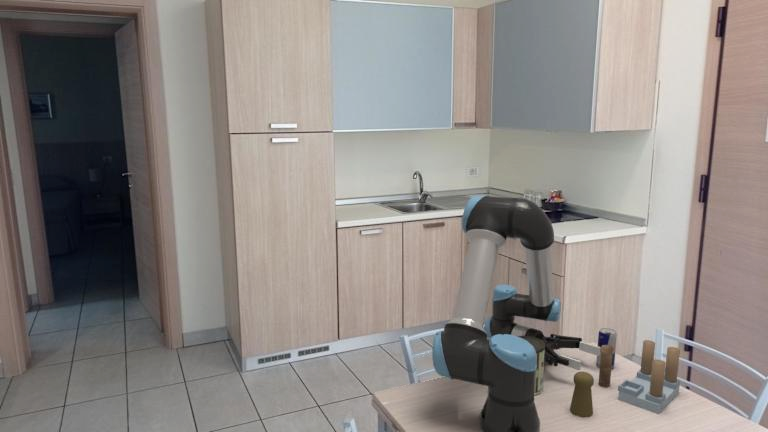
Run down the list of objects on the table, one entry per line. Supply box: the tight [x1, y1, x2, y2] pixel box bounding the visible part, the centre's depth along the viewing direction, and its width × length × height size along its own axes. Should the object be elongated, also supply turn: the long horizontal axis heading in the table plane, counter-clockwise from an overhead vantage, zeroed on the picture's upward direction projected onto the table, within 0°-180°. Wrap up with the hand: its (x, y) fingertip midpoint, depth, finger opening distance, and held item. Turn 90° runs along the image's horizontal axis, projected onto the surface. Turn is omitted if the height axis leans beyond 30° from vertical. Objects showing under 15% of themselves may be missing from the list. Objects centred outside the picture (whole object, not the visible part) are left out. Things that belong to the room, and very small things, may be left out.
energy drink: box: [595, 327, 618, 370], centre depth 179 cm, size 5×5×12 cm
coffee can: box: [517, 336, 545, 396], centre depth 166 cm, size 10×10×14 cm
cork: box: [569, 371, 595, 418], centre depth 153 cm, size 6×6×11 cm
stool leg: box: [597, 345, 613, 388], centre depth 167 cm, size 3×3×12 cm
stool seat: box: [617, 339, 681, 415], centre depth 161 cm, size 11×16×14 cm
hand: (590, 358), depth 171 cm, fingers open, 13 cm apart
